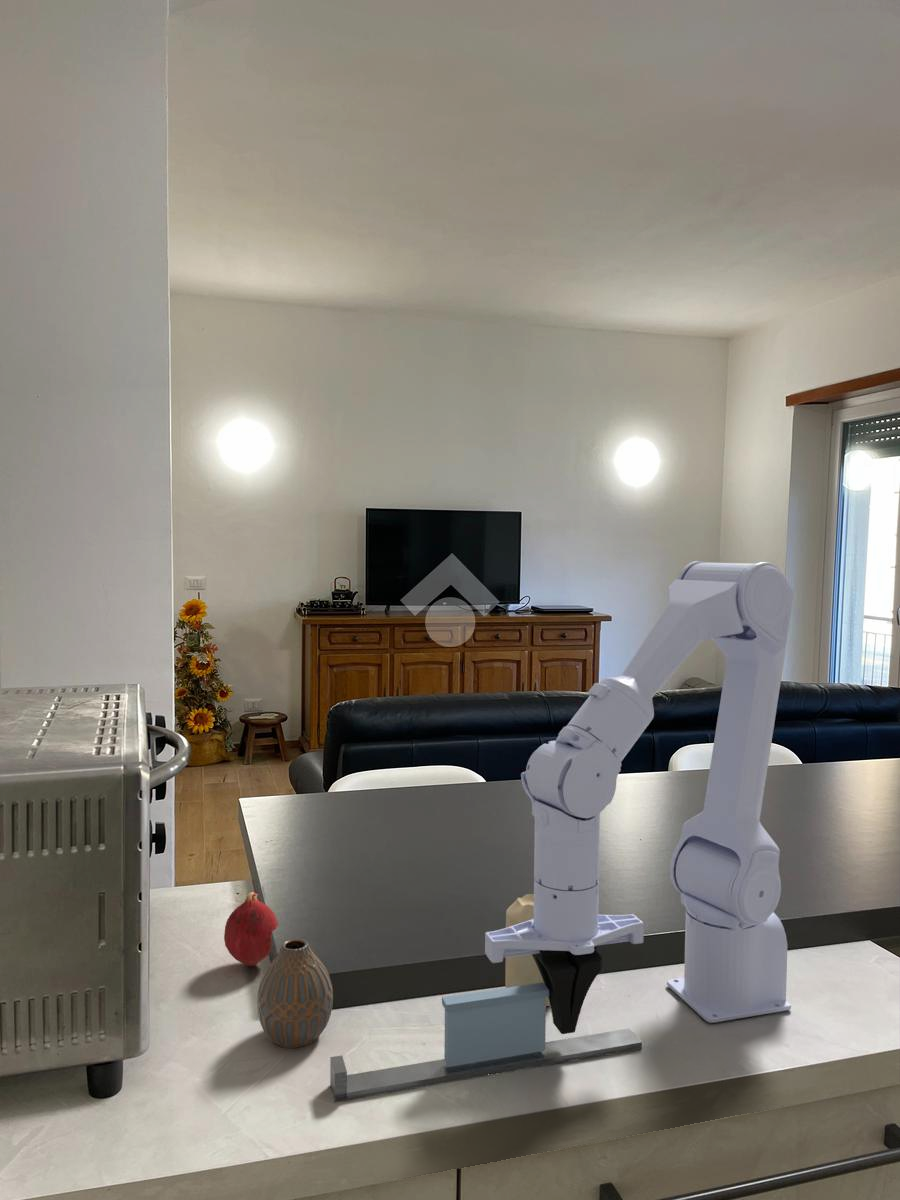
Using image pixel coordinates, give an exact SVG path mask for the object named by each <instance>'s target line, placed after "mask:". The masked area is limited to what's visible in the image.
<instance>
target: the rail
mask: <svg viewBox="0 0 900 1200" xmlns="http://www.w3.org/2000/svg"><path fill="white" fill-rule="evenodd" d="M642 1049H643V1041H641V1039H640V1038H639V1037H638V1036H637V1035H636V1034H635V1033H634V1031H633V1030H632V1029H631V1028H624V1029H623V1028H622V1029H618V1030H612V1031H607V1032H606V1031H605V1032H600V1033H593V1034H588V1035H581V1036H575V1037H569V1038H568V1037H567V1038H564V1039H563V1038H562V1039H558V1040H552V1041H545V1051H540V1052H534V1053H528V1054H522V1055H516V1056H511V1057H505V1058H499V1059H493V1060H487V1061H481V1062H475V1063H469V1064H463V1065H457V1066H451V1067H447V1065H446V1063H445V1061H444V1058H442V1059H436V1060H430V1061H425V1062H424V1061H423V1062H419V1063H412V1064H406V1065H401V1066H393V1067H388V1068H383V1069H381V1068H380V1069H377V1070H376V1069H375V1070H369V1071H364V1072H357V1073H351V1074H348V1070H347V1068H346V1064H345V1063H346V1062H345V1060H344V1058H343V1057H344V1056H343V1055H336V1056H335V1055H334V1056H330V1061H329V1063H330V1064H329V1065H330V1071H329V1072H330V1073H329V1074H330V1076H329V1077H330V1079H329V1081H330V1088H331V1089H330V1090H331V1092H332V1096H333V1100H334V1102H335V1103H337V1102H343V1101H349V1100H354V1099H359V1098H365V1097H366V1098H367V1097H372V1096H377V1095H383V1094H389V1093H395V1092H401V1091H405V1090H406V1091H407V1090H412V1089H416V1088H424V1087H428V1086H433V1085H434V1086H435V1085H440V1084H441V1085H442V1084H446V1083H451V1082H458V1081H463V1080H468V1079H475V1077H476V1078H481V1076H482V1077H487V1076H492V1075H491V1074H493V1075H497V1074H496V1073H499V1074H503V1072H505V1073H510V1071H511V1072H515V1071H520V1070H521V1069H522V1070H527V1068H528V1069H532V1068H533V1069H534V1068H538V1067H543V1066H549V1065H555V1064H561V1063H567V1062H572V1061H573V1062H574V1061H579V1060H584V1059H590V1058H596V1057H602V1056H607V1055H614V1054H619V1053H624V1052H625V1053H627V1052H631V1051H637V1050H642ZM488 1074H489V1075H488Z"/></svg>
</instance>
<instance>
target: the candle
mask: <svg viewBox="0 0 900 1200" xmlns="http://www.w3.org/2000/svg"><path fill="white" fill-rule="evenodd" d="M532 919H534V893H531V894H529V893H528V894H525V895H523V897H517V899H516V900H515V901H514V902H513V903H512V904H511V905H510V906H508V908H507V909H506V911H505V928H507V927H510V926H513V925H516V924H519V923H522V922H525V921H529V920H532ZM542 982H543V983H544V981H543V979H542V976H541V973H540V971H539V969H538V966H537V964H536V962H535V960H534V958H533V956H532V954H529V955H522V956H514V957H507V958H505V983H504V985H505V987H504V988H508V987H514V986H521V985H528V984H535V983H542ZM549 1005H550V1002H549V998H548V997H546V1006H548V1007H550V1006H549Z"/></svg>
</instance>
